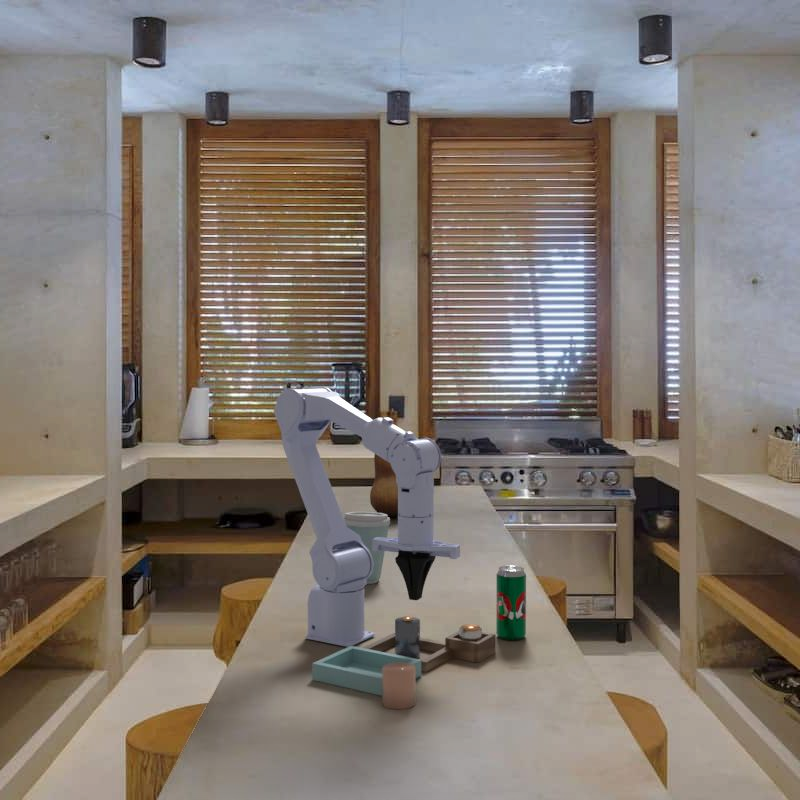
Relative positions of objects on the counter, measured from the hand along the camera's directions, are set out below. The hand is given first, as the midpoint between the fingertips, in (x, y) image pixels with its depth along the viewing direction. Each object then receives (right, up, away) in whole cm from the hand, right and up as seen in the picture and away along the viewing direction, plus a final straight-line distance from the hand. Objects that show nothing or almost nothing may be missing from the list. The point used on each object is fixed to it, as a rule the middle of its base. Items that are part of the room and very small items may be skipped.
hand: (415, 598), depth 149 cm
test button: (+9, -8, +1) cm, 12 cm away
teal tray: (-7, -10, -9) cm, 16 cm away
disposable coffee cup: (-10, -7, +51) cm, 53 cm away
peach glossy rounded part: (-3, -10, -20) cm, 22 cm away
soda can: (+17, -9, +11) cm, 22 cm away
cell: (-1, -10, 0) cm, 10 cm away
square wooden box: (+9, -9, +1) cm, 13 cm away
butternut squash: (-5, -4, +132) cm, 132 cm away
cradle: (-1, -9, 0) cm, 9 cm away
